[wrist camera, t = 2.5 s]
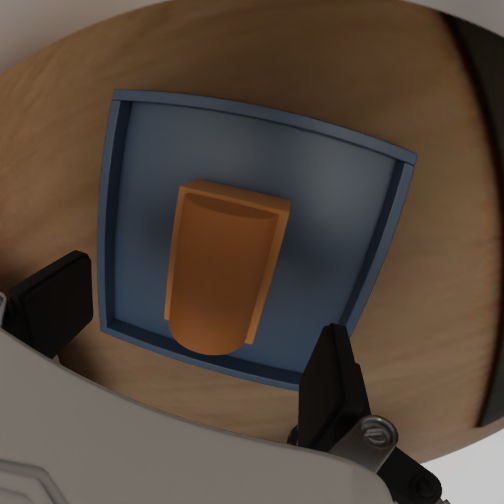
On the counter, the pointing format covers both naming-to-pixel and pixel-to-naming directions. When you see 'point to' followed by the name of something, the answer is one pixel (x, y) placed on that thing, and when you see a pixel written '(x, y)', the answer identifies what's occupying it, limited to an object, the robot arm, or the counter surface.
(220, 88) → the counter surface
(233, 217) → the orange hollowed block
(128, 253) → the tray
